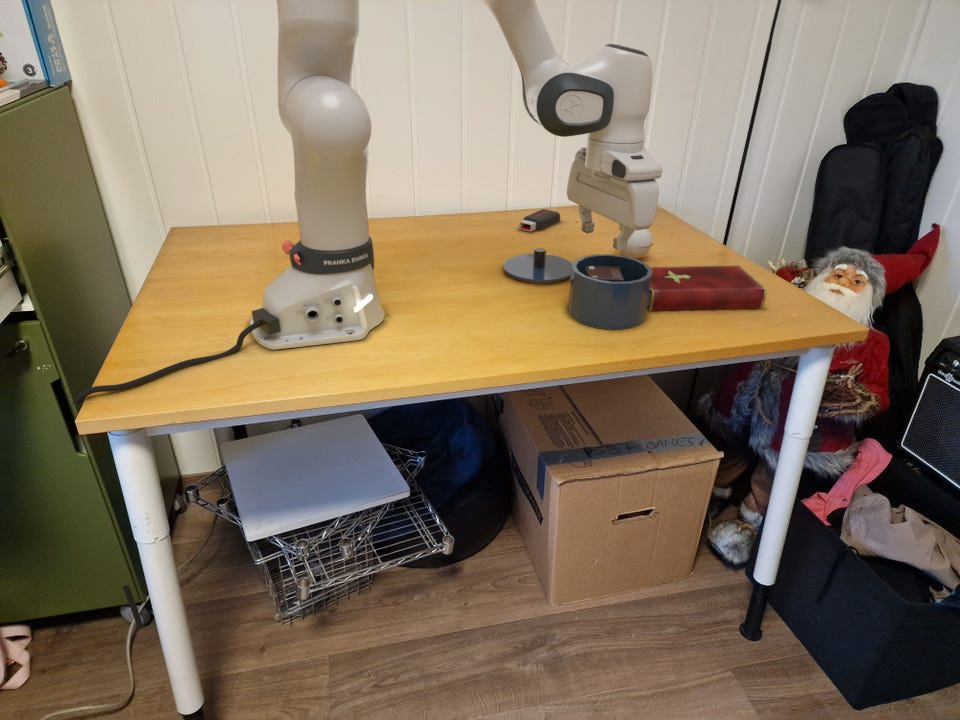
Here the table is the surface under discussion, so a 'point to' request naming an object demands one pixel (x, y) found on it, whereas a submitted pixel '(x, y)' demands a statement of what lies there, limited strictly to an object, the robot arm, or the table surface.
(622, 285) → the pot
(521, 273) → the pot lid
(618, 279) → the box
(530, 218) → the usb drive
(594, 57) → the robot arm
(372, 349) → the table surface
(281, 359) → the table surface
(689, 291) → the hardcover book
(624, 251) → the white sphere
